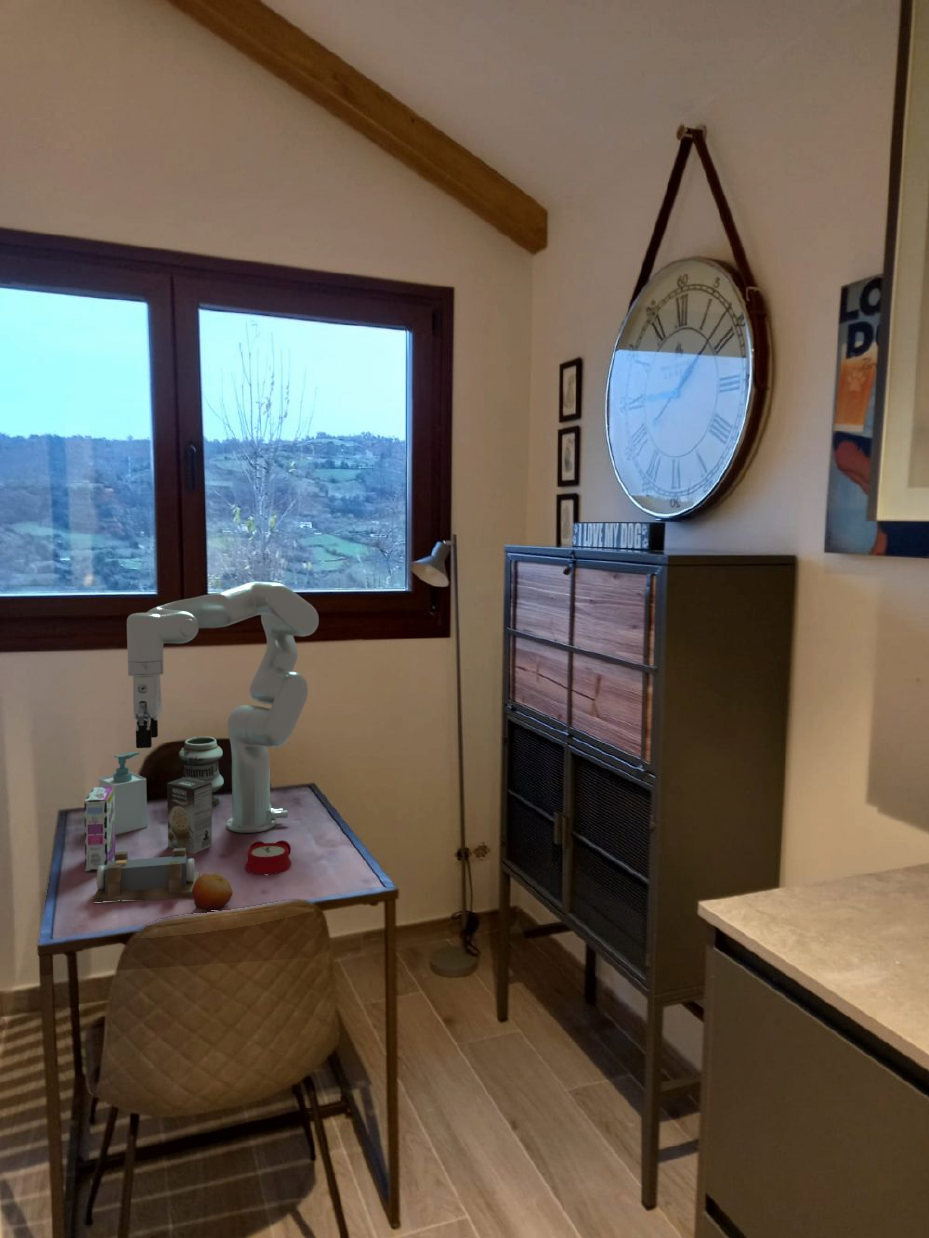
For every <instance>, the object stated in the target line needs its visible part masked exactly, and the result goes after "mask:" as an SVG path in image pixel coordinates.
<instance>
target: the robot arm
mask: <svg viewBox="0 0 929 1238" xmlns="http://www.w3.org/2000/svg"><path fill="white" fill-rule="evenodd" d="M256 616H260V620H261V624H262V627H263V631H264V633H265V637H266V648H265V652H264V655H263V657H262V659H261V661H260V663H259V665H258V667H257V670H256V672H255V674H254V676H253V678H252V680H251V683H250V687H249V695H250V697H251V698H252V700H253V701H255V702H257V703H260V704H264V705H267V706H270V708H268V707H265V706H258V705H252V704H244V705H239V706H237V707H235V708H234V709H233V710H232V711H231V712H230V714H229V715H228V719H227V734H228V738H229V743H230V749H231V752H230V753H231V789H232V790H231V791H232V792H231V794H232V795H231V799H232V800H231V801H232V804H231V805H232V806H231V807H232V817H230V818H229V819H228V820H227V821H226V826H225V827H226V829H228V830H229V831H231V832H235V833H241V834H242V833H243V834H248V833H249V834H251V833H252V834H253V833H260V832H265V831H267V830H271V829H273V828H274V827H275V826H276V825H277V819H279V818H280V819H288V810H283V809H284V808H278V809H277V808H272V803H271V782H270V781H271V774H270V772H271V771H270V770H271V767H270V766H271V760H270V759H271V758H270V754H269V749H268V748H279V747H282V746H284V745H285V744H286V743H287V742H288V740H289V739H290V737H291V736H292V734H293V731H294V729H295V727H296V725H297V723H298V721H299V719H300V718H299V717H301V716H300V715H301V713H302V712H303V709H304V707H305V704H306V701H307V698H308V692H309V691H308V689H309V687H308V683H307V680H306V678H305V677H304V676H303V675H302V674H301V673H299V672H296V671H294V669H295V666H296V663H297V660H298V654H299V653H298V647H297V644H296V641H295V638H294V637H307V636H310V635H313V633H315V631H317V629H318V626H319V621H320V620H319V613H318V612H317V609H316V608H315V607H314V606H313V605H312V604H311V603H309V602H308V601H307V600H306V599H304V598H303V597H301V596H300V595H299V594H298V593H296V592H295V591H293V590H292V589H290V588H289V587H288V586H286V585H284V584H282V583H279V582H268V581H266V582H265V581H250V582H246V583H243V584H240V585H237V586H234V587H230V588H228V589H224V590H221V591H219V592H215V593H211V594H204V595H200V596H195V597H191V598H186V599H180V600H179V599H178V600H175V601H172V602H169V603H165V604H162V605H158V606H156V607H153V608H151V609H149V610H148V611H146V612H136V613H131V614H130V615H128V617H127V619H126V638H127V639H126V640H127V641H126V643H127V645H126V646H127V647H126V648H127V676H128V677H132V680H133V681H132V683H133V684H132V700H133V701H132V704H133V707H132V708H133V717H134V720H136V726H135V747H136V749H150V748H152V747H153V745H152V741H153V740H152V739H153V738H158V736H159V729H158V728H159V727H158V719H159V717H160V715H161V713H162V712H163V705H162V704H163V702H162V685H161V677H160V676H161V675H164V644H186V643H188V642H190V641H192V640H193V639H195V637H196V636H197V635H198V632H199V629H217V628H223V627H224V628H225V627H228V626H231V625H233V624H236V623H240V622H241V621H244V620H247V619H250V618H253V617H256Z"/></svg>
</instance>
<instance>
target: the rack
mask: <svg viewBox="0 0 929 1238" xmlns="http://www.w3.org/2000/svg"><path fill="white" fill-rule="evenodd" d="M128 854H129V853H128V850H126V851H115V854H114V856H113V859H114V860H113V861H117V860H129V859H128V858H129V857H128V856H129V855H128ZM172 854H173V856H186V855H187V852H186V848H173V851H172ZM173 856H172V857H173ZM200 873H201V872H194V882H188V881H187V882H186V886H182V861H172V862H169V887H168V888H156V889H144V890H132V891H122V879H121V865H109V866H108V868H107V876H108V893H105V889H99V890H98V889H97V890H96V892H95V894H94V896H93V898H92V901H93V902H103V901H118V900H120V901H122V900H143V901H152V900H153V901H155V900H156V901H157V900H168V899H171V900H172V899H185V898H193V895H192V889H193V886H194V884H195V882H196V880H197V879H198V878H199V877H200V876H201V875H200ZM93 902H92V903H93Z"/></svg>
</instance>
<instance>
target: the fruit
mask: <svg viewBox="0 0 929 1238" xmlns="http://www.w3.org/2000/svg"><path fill="white" fill-rule="evenodd" d="M192 895H193V897H192V898H193V903H194V904H193V905H194V907H195V908H194V910H193V911H192V912H193V913H195V912H196V911H198V910H202V911H203V912H212V911H211V910H220V911H221V910H223V909H224V908H225V907H226V906H227V904H228V903H229V902H230V900H232V899H231V898H232V897H233V889H232V887H231V884H230V882H229V880H228V879H227V878H226V877H225V876H223V875H221V874H219V873H216V872H213V873H212V872H205V873H203V874H201V875H200V877H199V878H198V879H197V880H196V882H195V884H194V886H193V889H192Z"/></svg>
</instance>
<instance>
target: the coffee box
mask: <svg viewBox="0 0 929 1238" xmlns="http://www.w3.org/2000/svg"><path fill="white" fill-rule="evenodd" d="M182 777H183V776H182ZM182 777H181V778H178V779H176V780H172V781H168V782H167V783H166V786H167V787H166V788H167V789H166V790H167V791H166V792H167V794H166V795H167V796H166V797H167V799H166V800H167V801H166V803H167V804H166V805H167V807H166V808H167V847H168V848H171V849H175V848H186V853H190V854H193V855H194V854H196V853H199V852H202V851H204V850H206V849H208V848H211V847H212V846H213V809H212V808H213V806H212V796H213V793H212V783H211V782H206V781H202V780H198V779H194V778H190V777H183V778H182Z"/></svg>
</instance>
